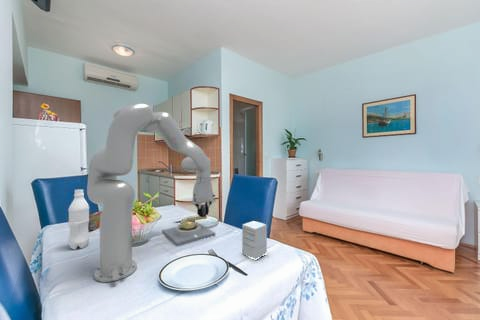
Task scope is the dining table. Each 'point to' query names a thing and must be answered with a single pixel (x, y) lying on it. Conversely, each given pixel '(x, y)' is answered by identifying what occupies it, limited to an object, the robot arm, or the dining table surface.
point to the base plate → (186, 238)
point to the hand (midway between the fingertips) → (203, 214)
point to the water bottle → (78, 221)
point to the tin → (94, 221)
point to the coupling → (193, 220)
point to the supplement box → (254, 239)
